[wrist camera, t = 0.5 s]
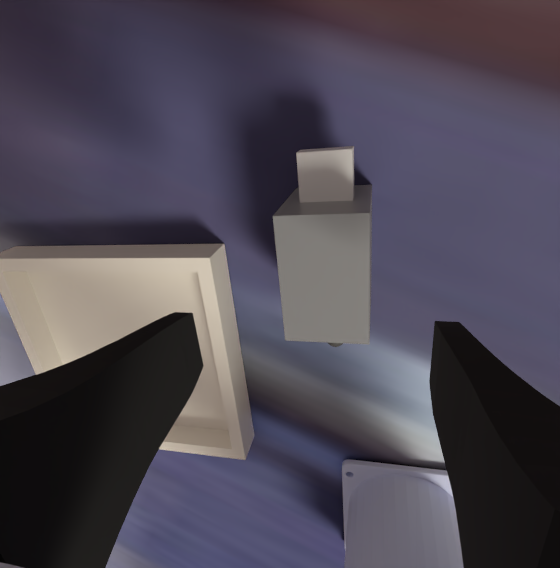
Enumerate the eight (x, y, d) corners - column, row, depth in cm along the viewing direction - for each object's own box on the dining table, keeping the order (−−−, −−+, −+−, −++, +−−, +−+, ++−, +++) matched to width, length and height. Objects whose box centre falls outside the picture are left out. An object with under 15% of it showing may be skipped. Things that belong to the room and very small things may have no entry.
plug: (370, 331, 22) (368, 391, 17) (307, 328, 23) (289, 385, 18) (372, 139, 18) (370, 154, 13) (293, 144, 18) (267, 161, 14)
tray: (254, 435, 27) (245, 460, 25) (82, 416, 31) (63, 437, 29) (224, 243, 21) (209, 257, 20) (15, 246, 25) (-15, 258, 23)
